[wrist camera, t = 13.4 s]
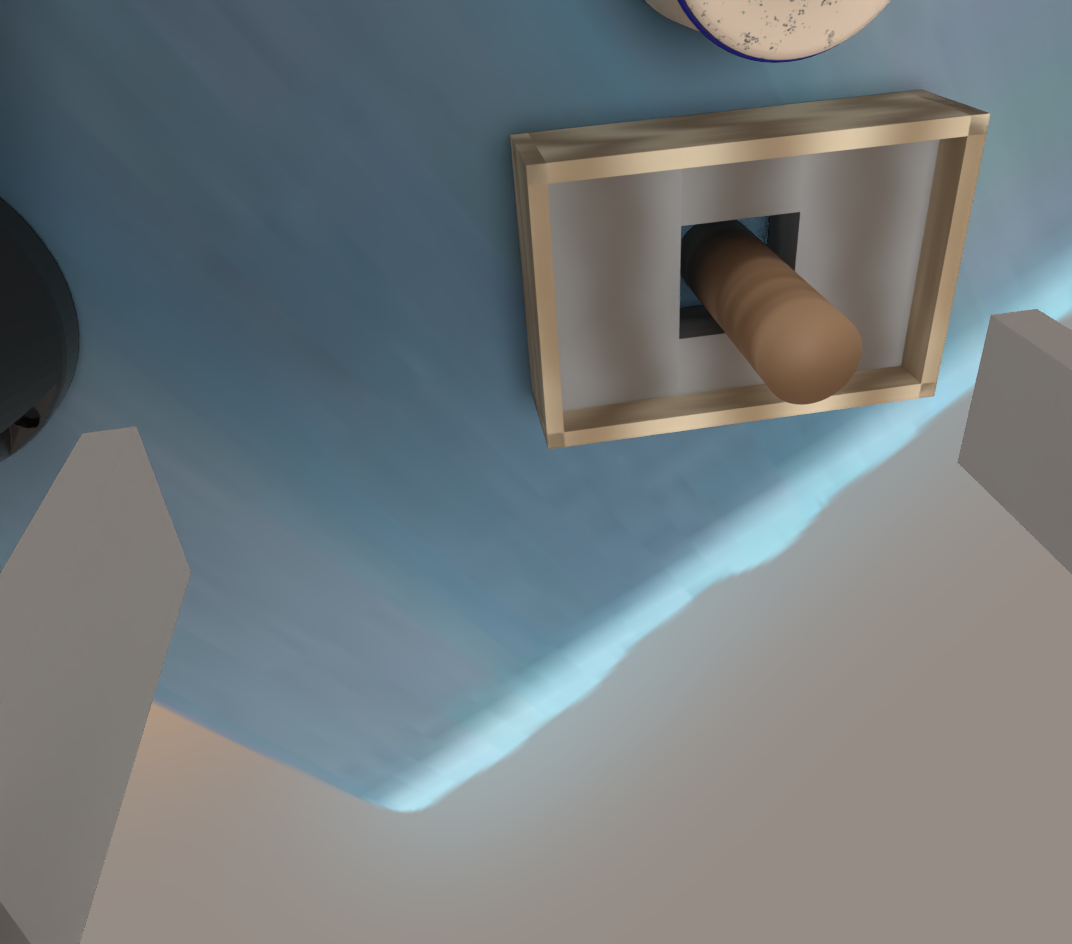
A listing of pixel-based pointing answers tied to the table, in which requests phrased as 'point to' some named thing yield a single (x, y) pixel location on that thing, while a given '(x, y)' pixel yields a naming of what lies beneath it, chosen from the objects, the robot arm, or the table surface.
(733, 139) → the box with hole
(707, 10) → the teacup with lid
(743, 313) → the peg
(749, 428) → the table surface
